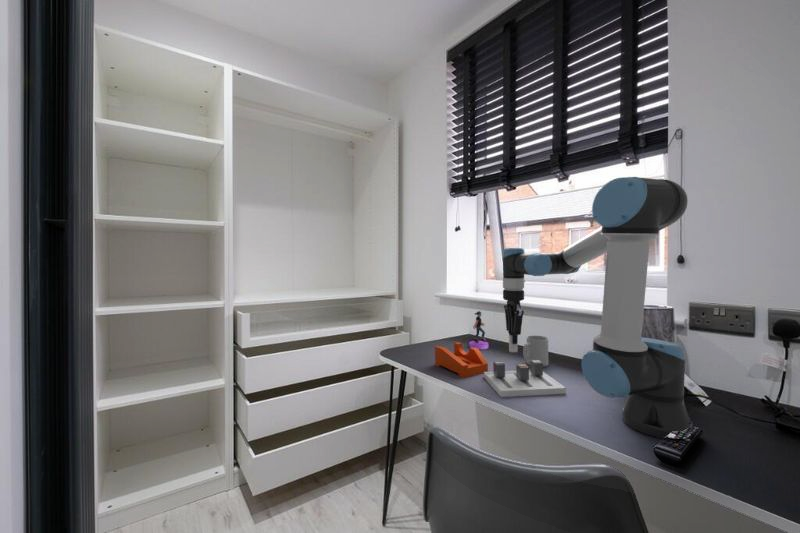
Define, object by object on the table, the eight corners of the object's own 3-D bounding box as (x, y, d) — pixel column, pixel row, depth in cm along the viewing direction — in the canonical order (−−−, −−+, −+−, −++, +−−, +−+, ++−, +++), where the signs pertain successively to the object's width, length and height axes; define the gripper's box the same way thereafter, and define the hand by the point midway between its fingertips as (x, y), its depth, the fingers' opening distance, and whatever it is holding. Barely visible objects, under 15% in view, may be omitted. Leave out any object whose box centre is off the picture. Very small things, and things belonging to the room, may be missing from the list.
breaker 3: (542, 375, 123) (542, 362, 123) (534, 375, 123) (534, 362, 123) (538, 372, 127) (538, 359, 127) (530, 372, 127) (530, 359, 127)
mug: (536, 359, 150) (536, 334, 149) (552, 364, 142) (552, 338, 142) (516, 363, 144) (516, 338, 144) (532, 369, 137) (532, 342, 136)
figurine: (489, 349, 166) (489, 312, 165) (470, 349, 167) (469, 312, 166) (486, 344, 175) (486, 309, 174) (468, 344, 176) (468, 309, 175)
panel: (565, 393, 113) (565, 387, 113) (500, 396, 112) (500, 390, 111) (539, 374, 131) (539, 369, 131) (483, 377, 129) (483, 371, 129)
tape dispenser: (435, 365, 145) (434, 346, 144) (458, 360, 151) (458, 342, 151) (463, 378, 129) (463, 357, 129) (487, 372, 136) (487, 351, 135)
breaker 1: (505, 377, 122) (504, 364, 122) (496, 377, 122) (496, 364, 122) (501, 373, 126) (501, 360, 126) (493, 374, 126) (493, 361, 126)
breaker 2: (528, 380, 119) (528, 366, 119) (520, 380, 119) (520, 367, 119) (524, 376, 123) (524, 363, 122) (516, 377, 122) (516, 363, 122)
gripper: (531, 291, 121) (530, 356, 122) (516, 287, 134) (516, 346, 135) (510, 291, 120) (510, 357, 121) (497, 287, 133) (497, 346, 134)
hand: (513, 351), depth 128 cm, fingers closed
